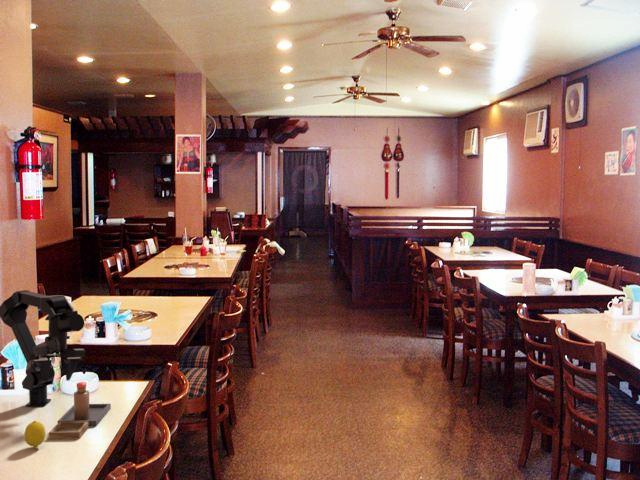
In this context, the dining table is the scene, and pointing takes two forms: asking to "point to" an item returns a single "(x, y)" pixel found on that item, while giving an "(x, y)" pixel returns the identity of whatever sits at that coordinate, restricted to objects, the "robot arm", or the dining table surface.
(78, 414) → the bottle
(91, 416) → the tray
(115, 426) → the dining table surface
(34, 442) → the lemon
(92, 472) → the dining table surface
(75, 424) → the stand
